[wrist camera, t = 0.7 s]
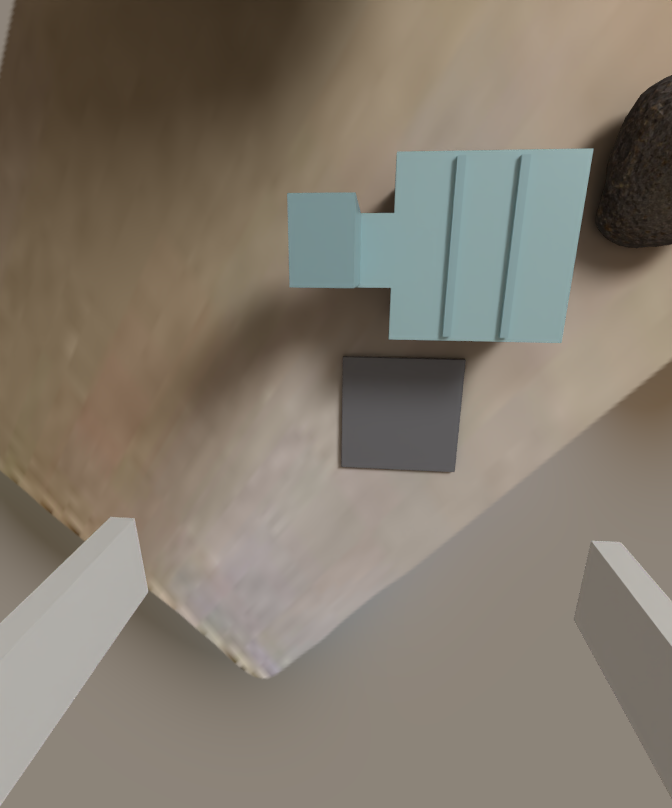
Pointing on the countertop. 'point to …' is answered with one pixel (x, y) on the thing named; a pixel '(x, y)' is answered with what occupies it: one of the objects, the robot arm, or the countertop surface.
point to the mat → (401, 412)
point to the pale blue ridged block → (455, 243)
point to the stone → (641, 174)
